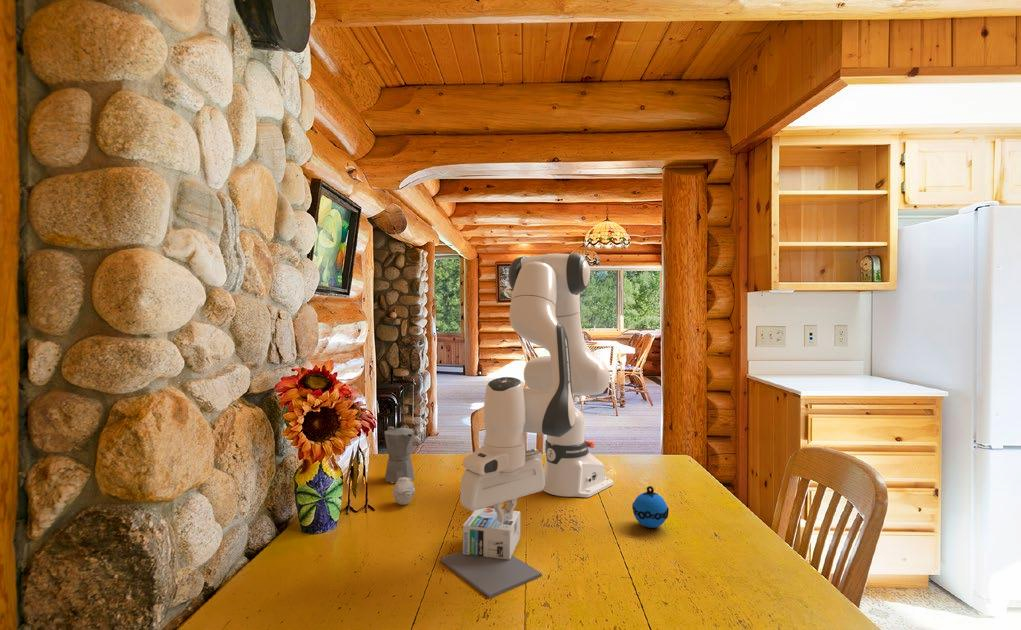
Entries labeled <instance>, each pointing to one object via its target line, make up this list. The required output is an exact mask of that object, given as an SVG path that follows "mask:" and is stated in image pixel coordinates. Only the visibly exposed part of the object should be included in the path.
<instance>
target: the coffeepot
mask: <svg viewBox="0 0 1021 630" xmlns="http://www.w3.org/2000/svg"><path fill="white" fill-rule="evenodd" d="M402 425H403V421H397V422H396V426H397V427H394V426H390V425H386V426H385V427H384V429H383V438H384V444H385V448H386V451H387V454H388V459H387V461H386V462H387V463H386V467H385V468H386V469H385V475H384V479H386V480H385V482H386V481H387V482H386V483H388V482H393V483H396V482H397V481H398V479H399V478H403V477H407V478H411V480H412V479H413V480H414V479H415V473H414V472H415V471H414V467H413V462H412V461H413V460H412V458H411V453H413V445H414V437H415V431H414V429H413V428H407V427H402ZM413 480H412V481H413Z"/></svg>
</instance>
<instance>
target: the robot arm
mask: <svg viewBox="0 0 1021 630" xmlns="http://www.w3.org/2000/svg"><path fill="white" fill-rule="evenodd" d="M507 272H508V273H507V274H508V284H509V287H510V288H511V290H512V294H511V295H512V296H511V300H510V305H509V313H508V314H509V318H508V319H509V324H510V326H511V328H512V329H513V330H514V332H515V333H516V334H517V335H518V336H519V337H521V338H522V339H524V340H526V341H527V342H530V343H532V344H535V345H537V346H539V347H541V348H543V349H545V350H546V351H548V353H549V355H548V356H547V355H544V356H543V355H542V356H538V357H537V356H536V357H533V358H530V359H529V360H528V361H527V362H526V364H525V366H524V370H523V379H524V382H525V385H526V386H527V388H525V387H523V382H522V381H521V380H520V379H518V378H516V377H509V376H503V377H498V378H493V379H492V380H490V381H489V382H488V383H487V385H486V388H485V394H484V401H483V402H484V404H483V424H484V428H485V432H484V434H485V435H484V438H483V446H481V447H480V448H477V450H475V451H473V452H472V453H470V454H469V455H466V456H464V458H463V460H462V466H463V468H464V469H465V470H464V471H463V474H462V475H461V482H460V491H459V493H460V496H459V497H460V504H461V506H463V508H465V509H467V510H468V511H471V512H474V511H475V510H478V509H482V508H490V507H491V506H492V507H493V508H492V509H495V511H496V512H497V521H499V522H500V523H502V522H505V521H508V520H511V519H512V518H513V511H515V508H516V506H517V504H518V499H519V498H523V497H525V496H528V495H529V496H530V495H531V494H535V493H539V492H542V491H543V492H545V493H547V494H549V495H554V496H557V497H570V498H571V497H578V498H590V497H592V496H594V495H596V494H597V493H600V492H602V491H604V490H605V489H607V488H609V487H611V486H613V485H614V480H612V478H611V477H609V476H606V468H605V465H604V463H603V462H601V461H600V460H599V459H598V458H596V457H595V456H594V455H593V454H592V453H590V451H589V448H591V449H594V448H595V446H596V443H595V441H592V440H589V439H588V440H587V441H586V440H585V416H584V414H583V413H582V411H581V410H580V409H579V408H577V407H576V406H575V403H574V396H582V397H587V396H588V397H589V396H597V395H601V394H603V393H604V392H605V391H606V389H608V386H609V383H610V371H609V368H608V367H607V364H605V362H604V361H602V360H601V359H600V358H598V357H597V356H596V355H595V354H594V352H593V351H592V350H591V349H590V348H589V346H588V344H587V343H586V339H585V338H584V337H585V336H584V332H583V327H582V319H581V306H580V299H579V294H580V293H582V292H584V291H585V290H586V289H587V287H588V286H589V282H590V278H591V268H590V265H589V261H588V260H587V258H586V256H584V255H583V254H580V253H576V252H575V253H572V252H571V253H570V254H569V253H558V252H557V253H546V254H538V255H537V254H536V255H531V256H527V255H524V256H519V257H517V258H514V260H513V261H512V262H511V263H510V265H509V267H508V271H507ZM525 433H530V434H539V435H540V434H541V435H545V436H546V440H545V443H544V444H545V445H544V446H545V448H544V450H545V462H544V463H545V464H543V453H542V452H541V450H538V449H537V448H532V449H529V450H527V449H526V437H525ZM505 502H507V503H506V506H505V508H504V509H502V508H503V507H504V503H505Z"/></svg>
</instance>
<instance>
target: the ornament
mask: <svg viewBox="0 0 1021 630" xmlns="http://www.w3.org/2000/svg"><path fill="white" fill-rule="evenodd" d="M631 508H632V513H633V515H634V518H635V520H636V521H637V522H638V523H639V524H641V526H643V527H645V528H648V529H649V528H650V529H653V528H659V527H660V526H662V525H663V524H664V523H665V522H666V520H667V519H668V517H669V511H670V510H669V507H668V505H667V503H666V501H665V499H664V498H663V496H661V495H660V494H658V493H657V492H655V488H654V487H653V486H651V485H649V486H647V487H646V491H645V492H642V493H640V494H639V495H637V497H635V499H634V501H633V502H632V507H631Z"/></svg>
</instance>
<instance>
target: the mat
mask: <svg viewBox="0 0 1021 630" xmlns="http://www.w3.org/2000/svg"><path fill="white" fill-rule="evenodd" d="M439 560H440V561H439V562H440V563H441V564H443V563H444V564H443V565H444V566H446V567H447V568H449V569H450V570H452V571H453V572H454V573H455V574H457V576H459V577H460V578H461V579H463V580H464V581H466V582H467V583H469V584H470V585H471V586H473V587H474V588H475V589H476V590H478V591H479V592H481V593H482V595H484V596H486V597H487V598H488V599H491V598H494V597H496V596H499V595H500V594H503V593H505V592H508V591H510V590H512V589H515V588H517V587H519V586H521V585H524V584H527V583H528V582H531V581H533V580H536V579H538V578H540V577H542V576H543V575H542V572H540V571H539V570H538V569H535V568H534V567H532V566H531V565H530V564H527V563H526V562H525V561H523V560H521V559H519V558H518V557H516V556H515V555H513V554H512V556H511V558H510V560H507V559H499V558H491V557H483V556H475V555H467V554H463V552H462V550H461V551H457V552H455V553H451V554H449V555H446V556H443V557H440V559H439Z"/></svg>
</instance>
